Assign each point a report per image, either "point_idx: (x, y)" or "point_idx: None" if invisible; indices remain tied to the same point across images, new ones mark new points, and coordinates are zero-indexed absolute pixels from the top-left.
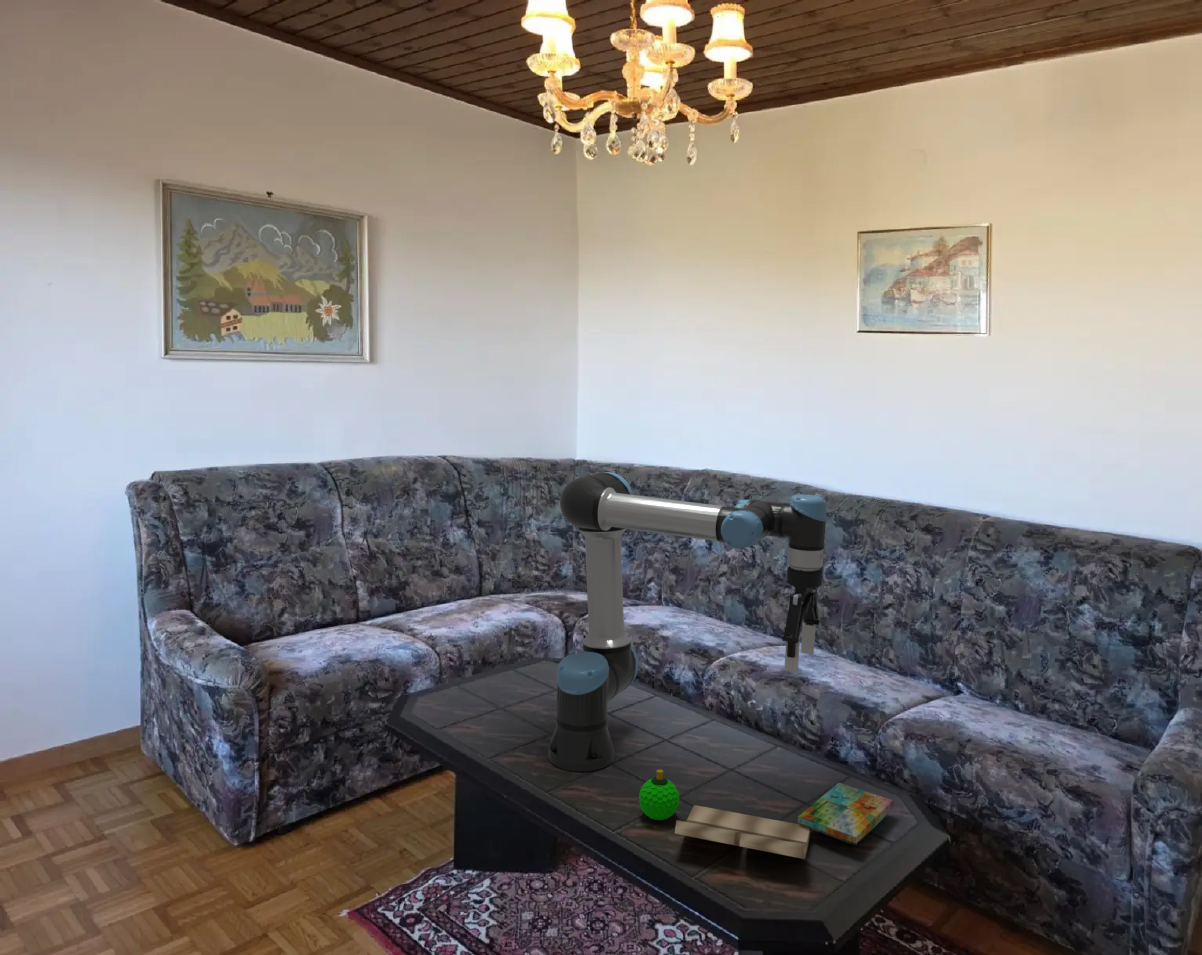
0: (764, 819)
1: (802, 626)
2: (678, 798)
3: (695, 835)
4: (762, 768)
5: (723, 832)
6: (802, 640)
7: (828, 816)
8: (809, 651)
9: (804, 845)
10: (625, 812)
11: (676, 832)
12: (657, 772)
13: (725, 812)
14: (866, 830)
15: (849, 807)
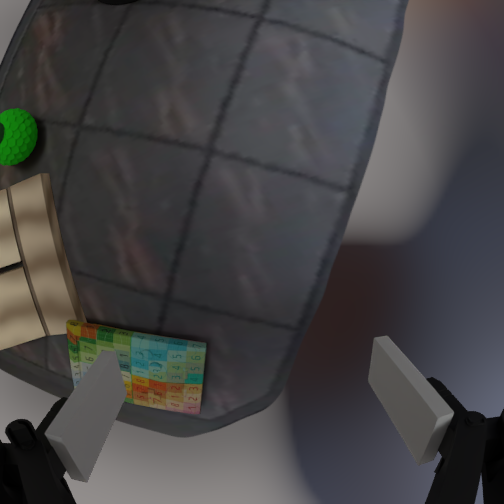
0: (59, 274)
1: (432, 409)
2: (13, 162)
3: None
4: (245, 196)
5: None
6: (396, 370)
7: (93, 356)
8: (372, 374)
9: (22, 342)
10: (24, 100)
11: None
12: None
13: (44, 220)
14: None
15: (130, 376)
